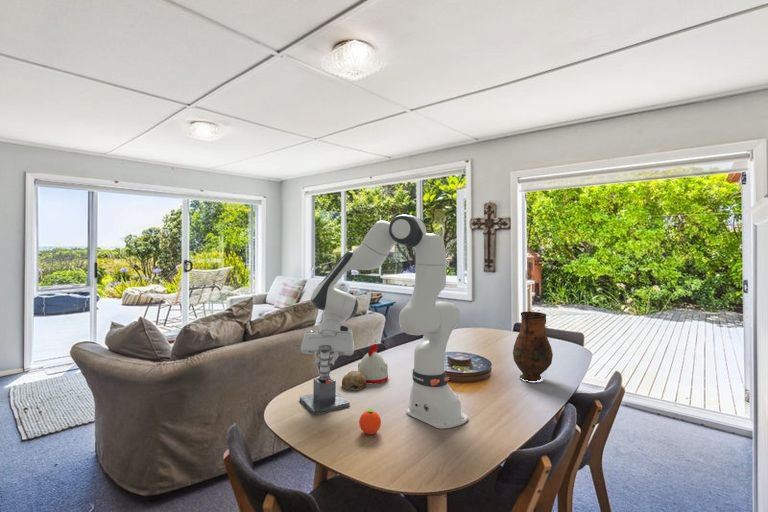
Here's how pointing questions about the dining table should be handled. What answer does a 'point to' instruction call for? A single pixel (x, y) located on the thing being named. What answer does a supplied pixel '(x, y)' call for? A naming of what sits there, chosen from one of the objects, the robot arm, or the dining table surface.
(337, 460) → the dining table surface
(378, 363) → the kitchen timer
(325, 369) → the column
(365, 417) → the clementine
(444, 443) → the dining table surface
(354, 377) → the bread roll
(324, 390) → the stand base
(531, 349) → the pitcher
